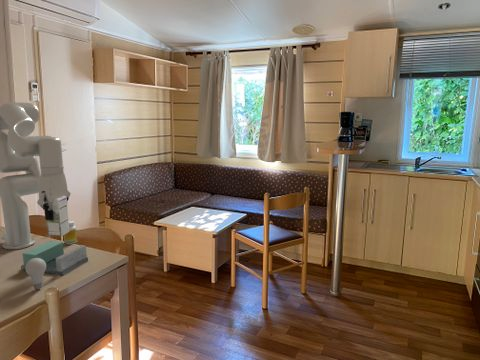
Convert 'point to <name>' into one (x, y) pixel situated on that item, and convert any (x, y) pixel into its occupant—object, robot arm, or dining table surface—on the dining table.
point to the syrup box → (58, 218)
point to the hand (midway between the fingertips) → (56, 217)
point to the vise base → (54, 268)
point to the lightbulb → (36, 271)
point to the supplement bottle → (71, 234)
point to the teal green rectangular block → (44, 252)
